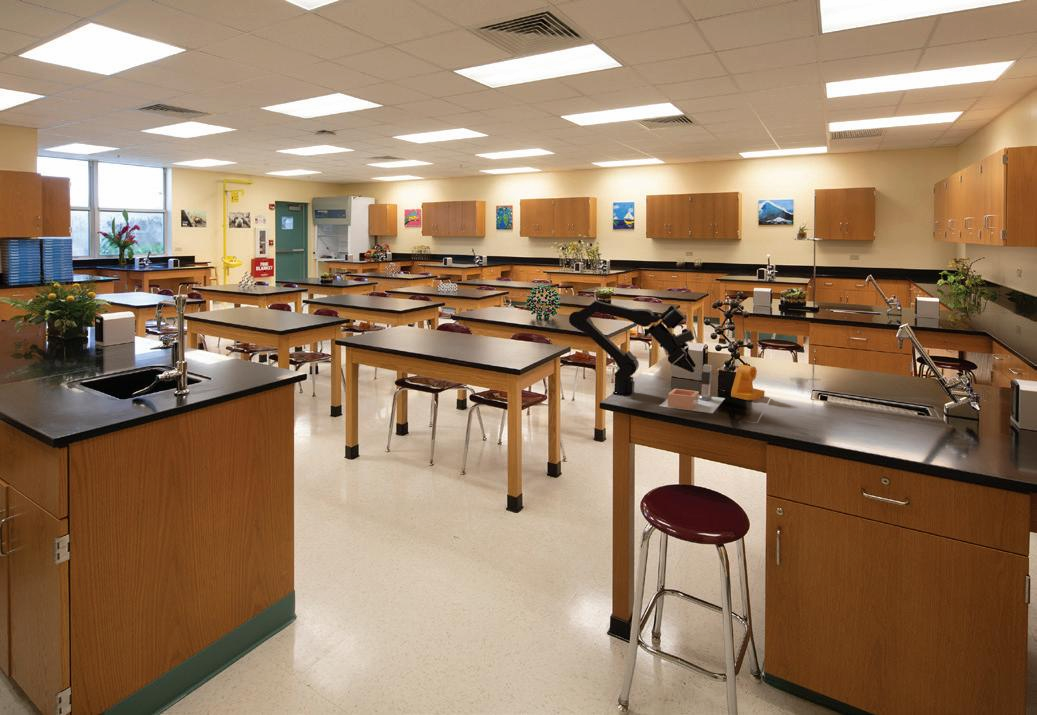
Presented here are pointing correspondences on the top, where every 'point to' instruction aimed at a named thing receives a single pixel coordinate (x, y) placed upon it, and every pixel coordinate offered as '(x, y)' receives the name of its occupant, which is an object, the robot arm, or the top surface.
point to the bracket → (746, 384)
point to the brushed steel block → (706, 383)
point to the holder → (683, 399)
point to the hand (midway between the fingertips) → (694, 369)
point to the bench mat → (702, 405)
